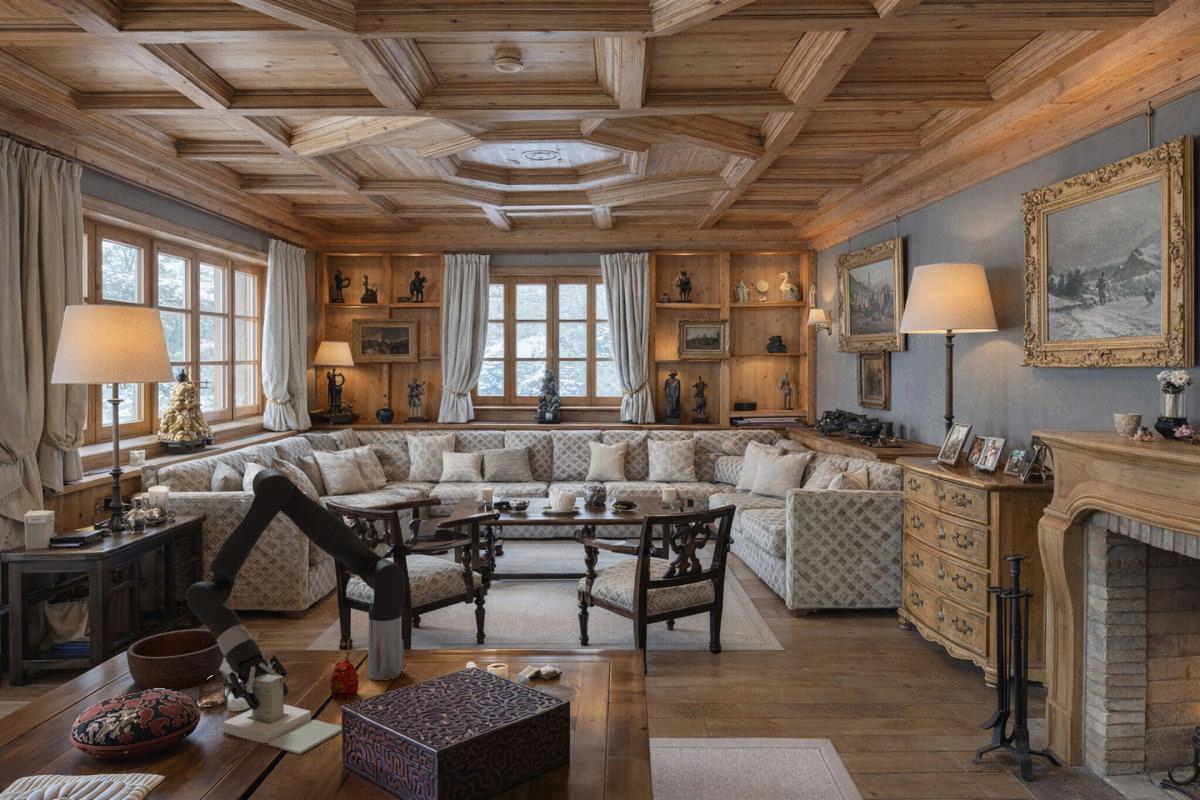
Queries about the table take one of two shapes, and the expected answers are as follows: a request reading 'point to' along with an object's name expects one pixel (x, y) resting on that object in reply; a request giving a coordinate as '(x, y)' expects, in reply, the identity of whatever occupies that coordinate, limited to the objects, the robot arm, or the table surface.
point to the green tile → (306, 736)
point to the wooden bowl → (174, 659)
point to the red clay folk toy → (344, 679)
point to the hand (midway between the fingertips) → (271, 701)
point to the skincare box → (268, 698)
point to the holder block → (263, 731)
